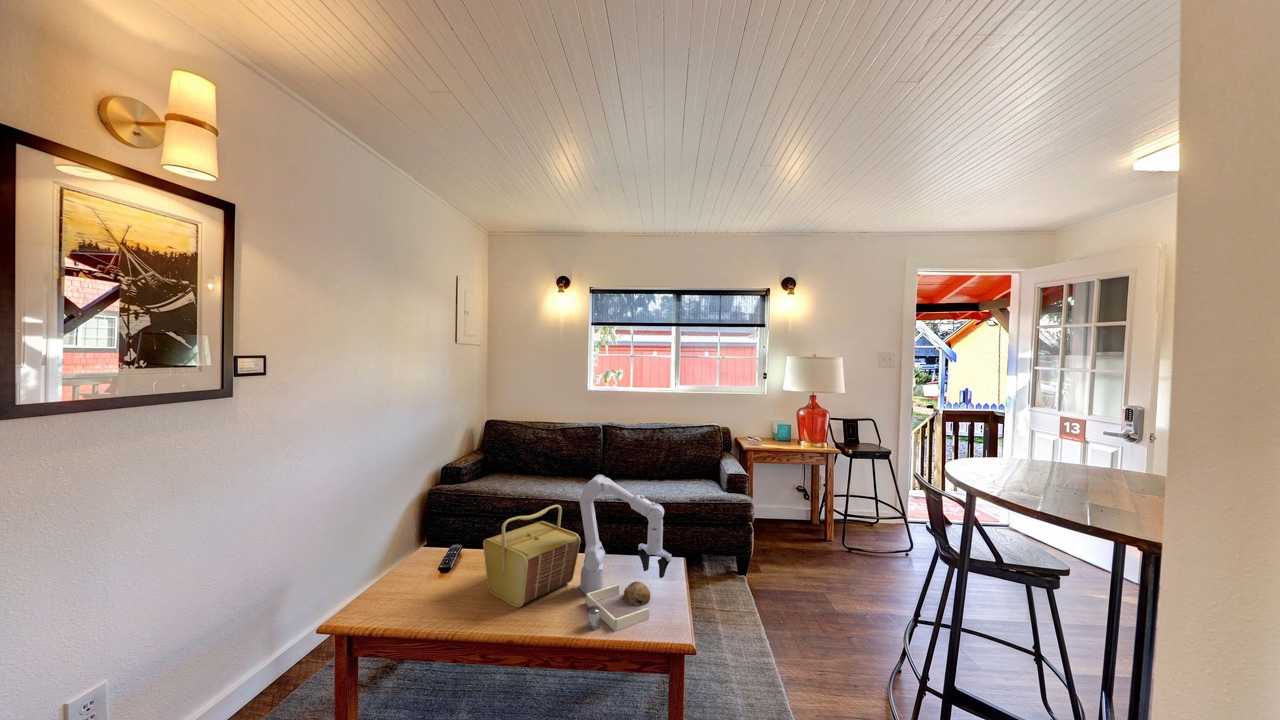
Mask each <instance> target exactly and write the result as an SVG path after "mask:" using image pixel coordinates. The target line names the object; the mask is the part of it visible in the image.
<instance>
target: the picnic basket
mask: <svg viewBox="0 0 1280 720" xmlns="http://www.w3.org/2000/svg"><path fill="white" fill-rule="evenodd" d="M554 508H558V513H557V514H558V516H557V523H556V525H555V524H552V523H549V522H547V521H544V520H540V521H537V522H534V523H531V524H527V525H525V526H522V527H519V528H518V527H517V528H516V529H512V530H510V531H507V532H506V527H507V524H508V523H510V522H514V521H517V520H521V521H530V520H533V519H536V518H537V519H538V518H539V517H542V516H543V515H545V514H546V513H547V512H548V511H549V510H552V509H554ZM562 512H563V509H562V506H561V505H559V504H553V505H551V506H548V507H545V508H544V509H541V510H540V511H538V512H536V513H533V514H530V515H517V516H514V517H511V518H508V519H506V520H505V521H504V522H503V523H502V525H501V533H500V534H497V535H494V536H492V537H489V538H485V539H484V540H483V541H482V544H483V545H482V546H483V547H482V548H483V554H484V555H483V556H484V557H483V558H484V564H485V566H484V567H485V573H486V584H487V587H488V589H489V591H490V593H491V594H492V595H493V596H495V597H497V598H498V599H500V600H502V601H504V602H506V603H507V604H509V605H510V606H512V607H514V608H516V609H518V608H521V607H522V606H523V605H525V604H526V603H528V602H531V601H533V600H535V599H537V598H539V597H540V596H543V595H544V594H547V593H549V592H552V591H553V590H555V589H557V588H559V587H560V586H563V585H565V584H570V583H571V582H572V581H573V579H574V575H575V570H576V566H577V560H578V558H579V557H578V555H579V550H580V545H581V537H580V536H579V534H578V533H576V532H574V531H571V530H569V529H565V528H563V527H561V522H562V521H561V520H562V514H563V513H562Z"/></svg>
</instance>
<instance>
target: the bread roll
mask: <svg viewBox="0 0 1280 720" xmlns="http://www.w3.org/2000/svg"><path fill="white" fill-rule="evenodd" d="M623 599H624V601H625V602H626V603H628V604H629V605H634V606H635V607H636V606H642V605H646V604H648V603H649V602H650V600H651V590H650V588H649V587H648V586H647V585H646V583H643V582H641V581H633V582H631V583H630V584H628V585H627V586H626V587H625V588H624V591H623Z"/></svg>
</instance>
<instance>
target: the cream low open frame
mask: <svg viewBox="0 0 1280 720" xmlns="http://www.w3.org/2000/svg"><path fill="white" fill-rule="evenodd" d="M619 594H620V584H618V583H617V584H615V585H611V586H608V587H604V589H600V590H597V591H594V592H590V593H587V594H585V604H586V606H588V608H589V607H590V606H597V607H599V608H600V616H599V619H601V620H602V621H603V622H604V623H606V625H608V626H609V628H611V629H612V630H613V631H614V632H617V631H618V630H619V631H620V630H623V629H625V628H627V627H631V626H633V625H636V624H638V623H641V622H644V621H646V620H649V619H650V608H649V607H646V608H643V609H639V610H637V611H634V612H631V613H628V614H626V615H622V616H620V617H617V618H616V617H615V616H614V615H612V613H610V612H609V611H608V610H607V609H606V608H605V607H604V606H602V605H601V604H600V603H599V601H601V600H604V599H607V598H611V597H613V596H618V595H619Z"/></svg>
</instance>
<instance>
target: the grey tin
mask: <svg viewBox="0 0 1280 720" xmlns="http://www.w3.org/2000/svg"><path fill="white" fill-rule="evenodd" d="M599 616H600V608H599V607H597V606H590V607H589V606H588V608H587V620H586V621H587V622H586V629H587V630H588V631H591V632H592V631H597V630H599V628H600V617H599Z"/></svg>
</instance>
